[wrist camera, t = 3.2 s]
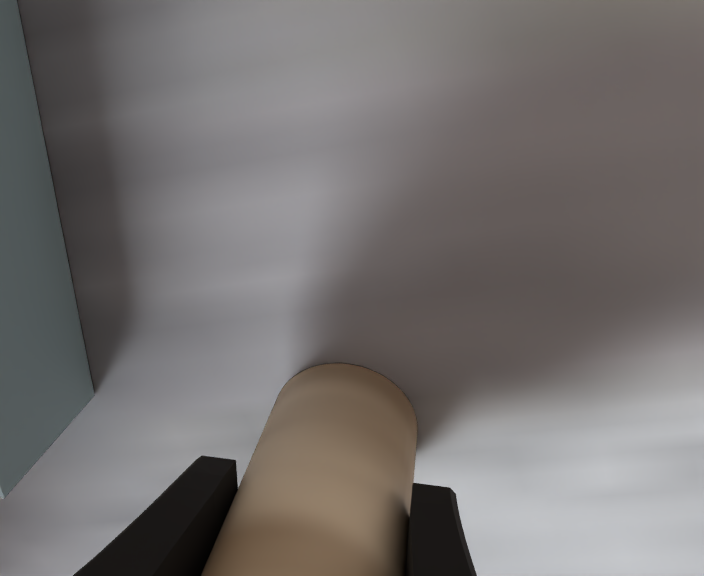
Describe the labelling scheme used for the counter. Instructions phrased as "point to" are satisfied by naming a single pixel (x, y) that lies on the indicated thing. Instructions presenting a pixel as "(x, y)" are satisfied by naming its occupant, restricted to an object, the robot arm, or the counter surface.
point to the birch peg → (325, 482)
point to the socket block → (32, 278)
